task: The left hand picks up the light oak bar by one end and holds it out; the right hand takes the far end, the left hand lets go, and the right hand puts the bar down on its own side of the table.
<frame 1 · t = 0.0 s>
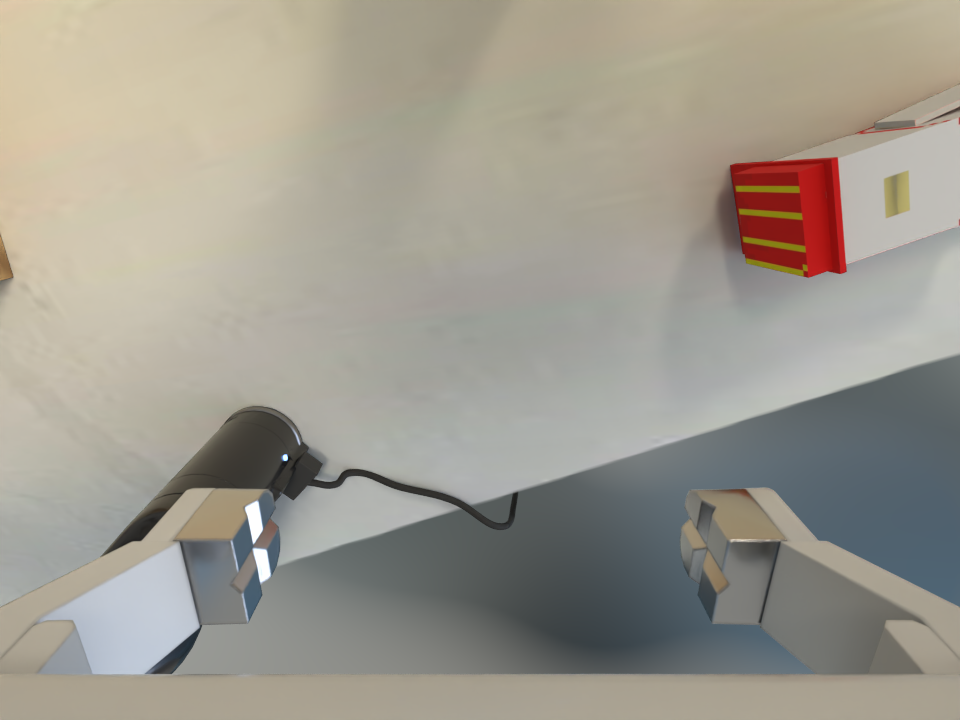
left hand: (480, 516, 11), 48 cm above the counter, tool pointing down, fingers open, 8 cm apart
toy: (872, 166, 54), on the counter
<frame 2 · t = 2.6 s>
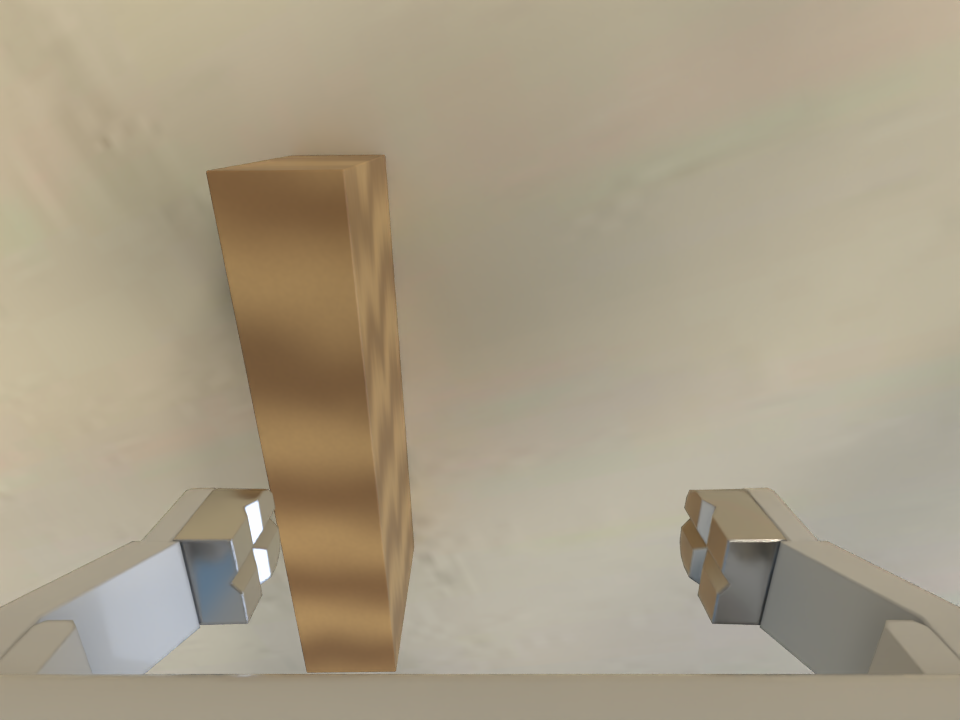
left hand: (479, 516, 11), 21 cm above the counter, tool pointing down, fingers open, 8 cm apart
bar: (361, 382, 33), on the counter
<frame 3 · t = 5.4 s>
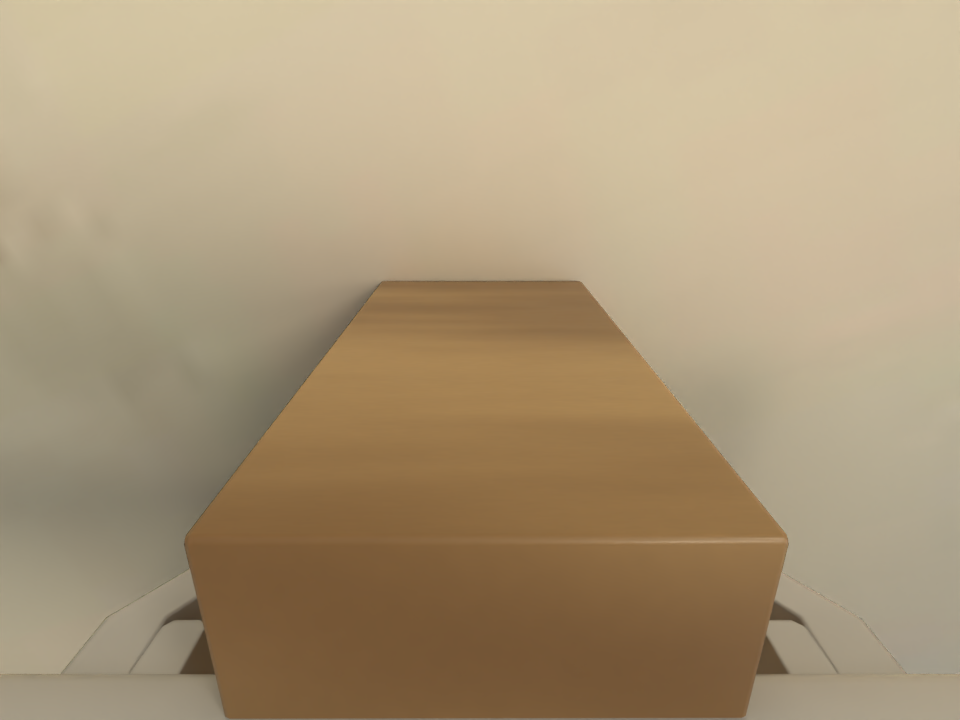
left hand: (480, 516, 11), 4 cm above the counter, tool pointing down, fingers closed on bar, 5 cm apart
bar: (480, 670, 18), on the counter, touching left hand
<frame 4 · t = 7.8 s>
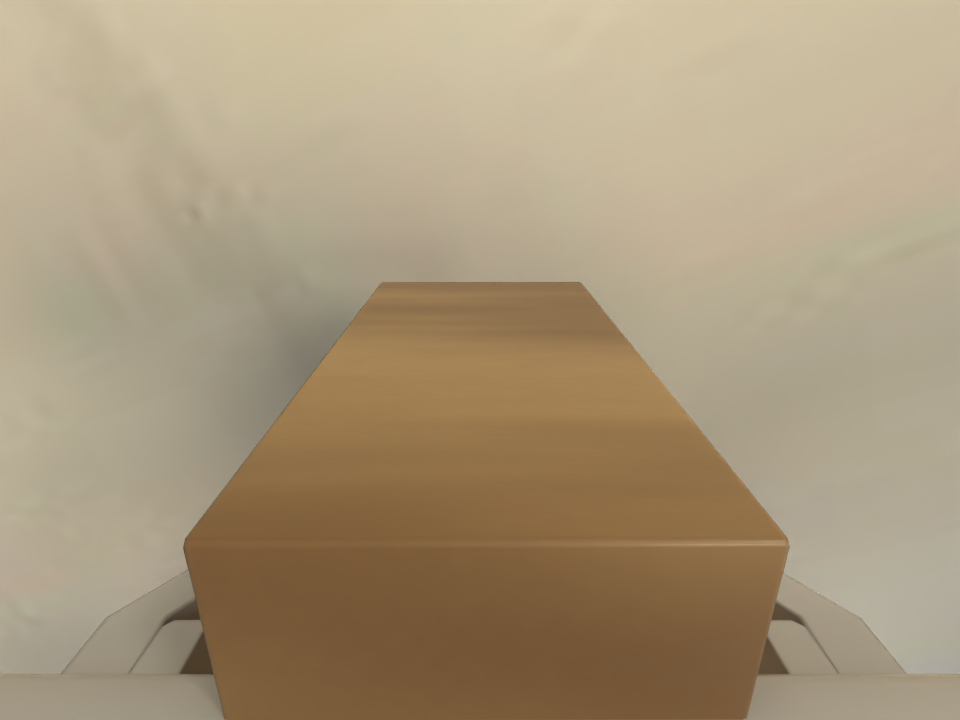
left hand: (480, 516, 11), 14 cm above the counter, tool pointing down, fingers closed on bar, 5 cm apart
bar: (480, 671, 18), point 10 cm above the counter, touching left hand
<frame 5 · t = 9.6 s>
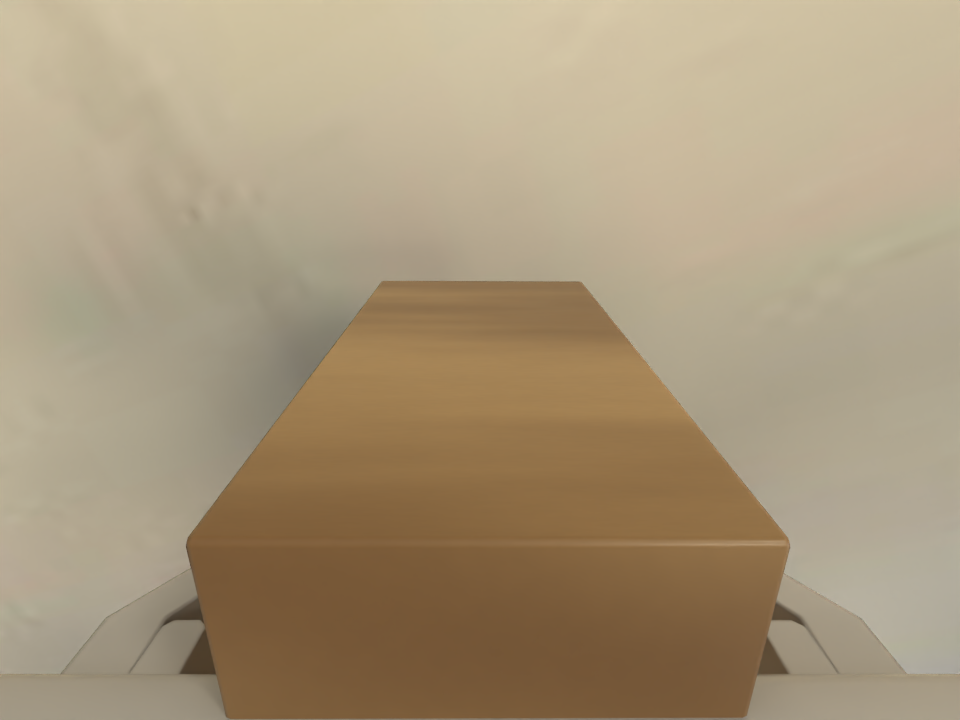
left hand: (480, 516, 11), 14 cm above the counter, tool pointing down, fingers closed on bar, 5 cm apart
bar: (479, 670, 18), point 10 cm above the counter, touching left hand, right hand
when the left hand's fingers open (14 cm above the counter, at t = 10.4 s): bar stays where it is, held by the right hand.
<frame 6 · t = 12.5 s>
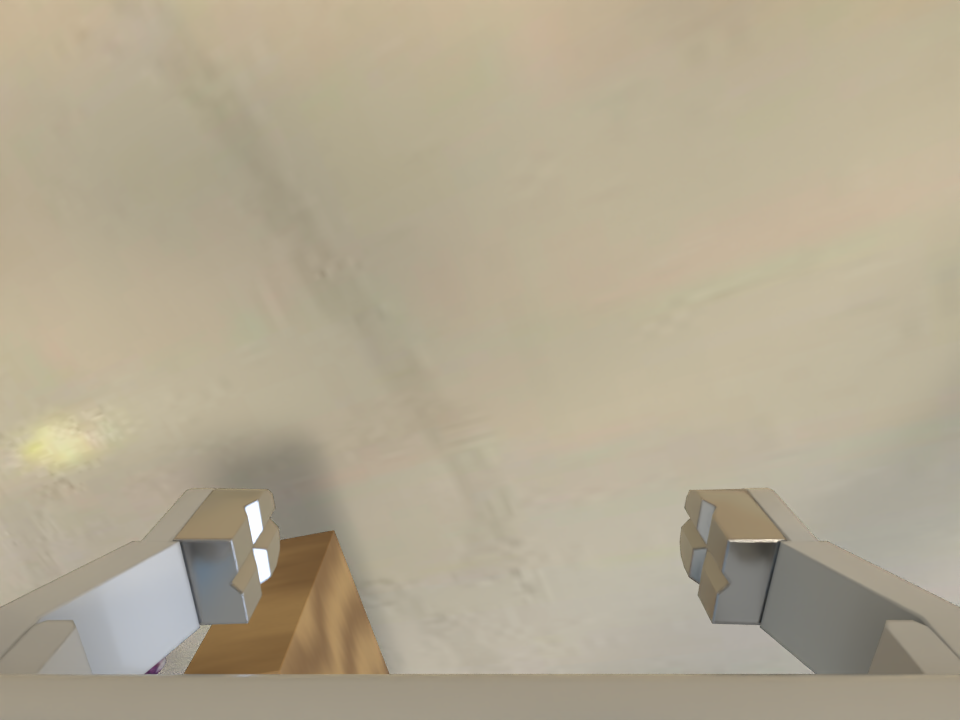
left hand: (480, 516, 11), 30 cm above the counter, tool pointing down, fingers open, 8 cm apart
bar: (358, 687, 37), point 13 cm above the counter, touching right hand
when the right hand's fingers open (6 cm above the counter, at t = 15.8 s): bar drops 1 cm, on the counter.
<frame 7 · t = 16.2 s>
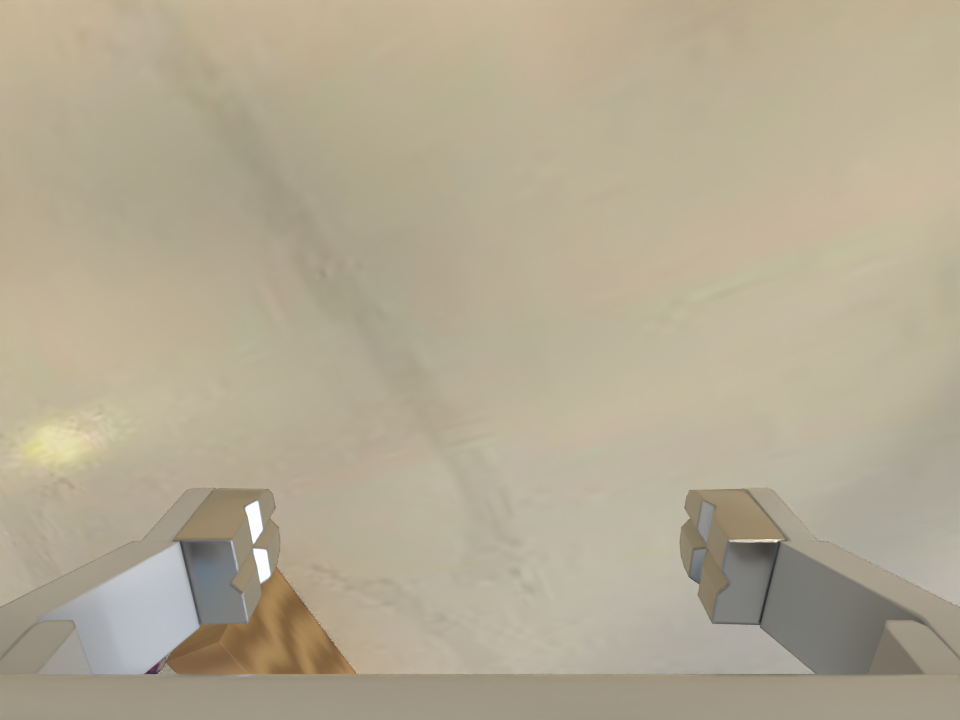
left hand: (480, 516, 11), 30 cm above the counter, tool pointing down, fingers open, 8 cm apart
bar: (317, 657, 53), on the counter
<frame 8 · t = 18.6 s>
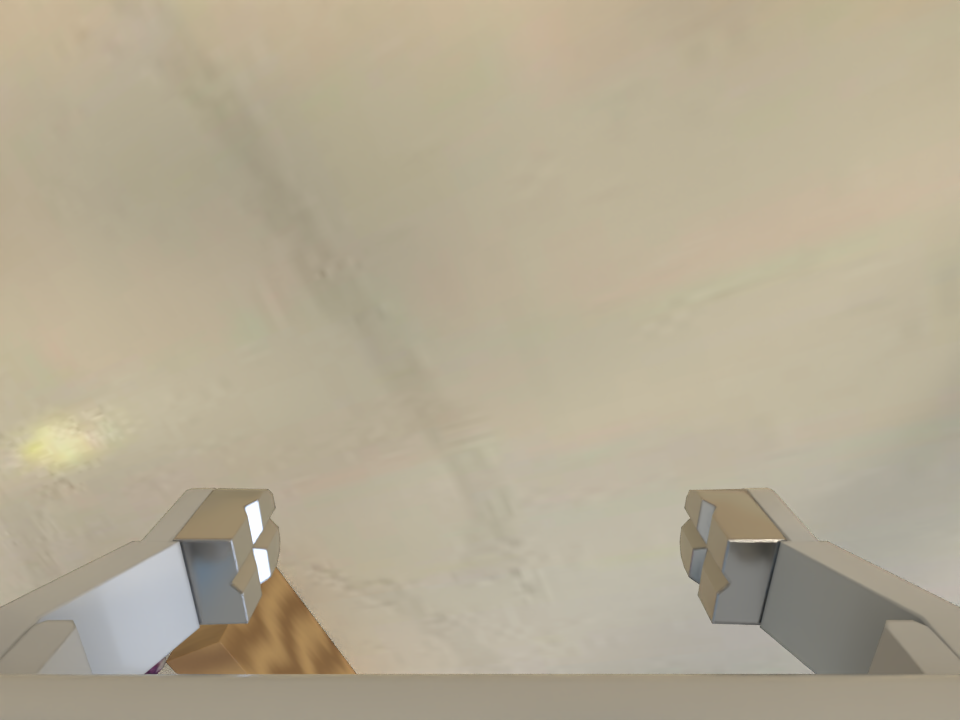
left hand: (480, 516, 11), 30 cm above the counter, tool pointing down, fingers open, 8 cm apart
bar: (317, 657, 53), on the counter
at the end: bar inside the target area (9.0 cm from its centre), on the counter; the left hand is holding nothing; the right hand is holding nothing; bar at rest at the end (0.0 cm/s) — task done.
